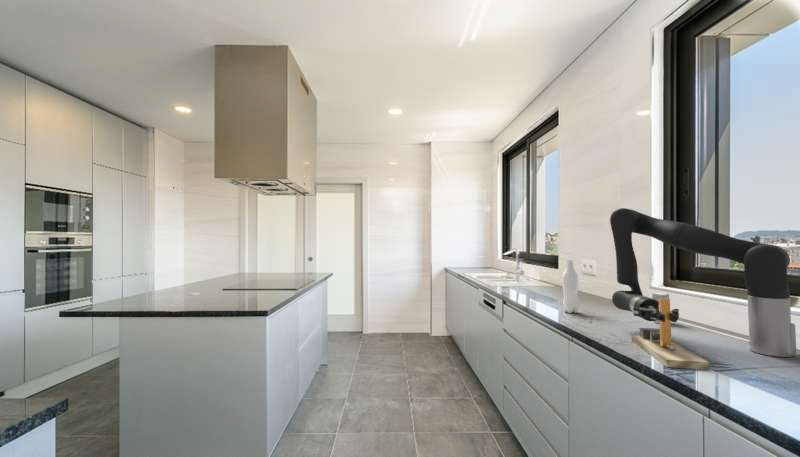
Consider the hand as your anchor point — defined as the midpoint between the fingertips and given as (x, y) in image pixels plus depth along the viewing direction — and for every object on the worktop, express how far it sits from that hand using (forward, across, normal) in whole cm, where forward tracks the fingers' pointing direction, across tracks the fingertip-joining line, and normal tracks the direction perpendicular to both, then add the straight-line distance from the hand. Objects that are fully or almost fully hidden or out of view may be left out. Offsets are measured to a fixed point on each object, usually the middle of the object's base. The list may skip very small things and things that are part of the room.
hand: (669, 318), depth 110 cm
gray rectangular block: (-12, 0, +10) cm, 15 cm away
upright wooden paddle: (-4, 0, +9) cm, 10 cm away
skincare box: (-48, +17, +12) cm, 52 cm away
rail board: (-3, 0, +12) cm, 12 cm away
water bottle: (-64, -15, +12) cm, 67 cm away
